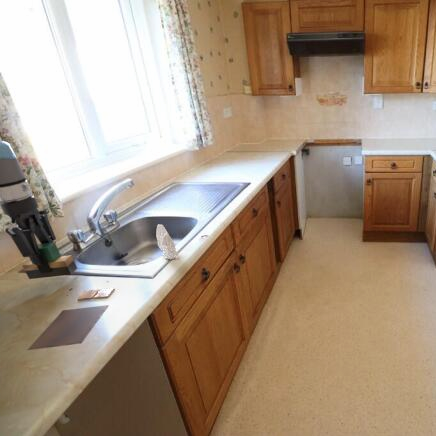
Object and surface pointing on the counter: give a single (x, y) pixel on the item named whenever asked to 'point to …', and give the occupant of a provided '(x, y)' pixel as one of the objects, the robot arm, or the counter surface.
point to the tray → (69, 327)
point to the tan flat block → (88, 295)
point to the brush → (51, 263)
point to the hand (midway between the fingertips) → (50, 268)
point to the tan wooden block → (103, 293)
